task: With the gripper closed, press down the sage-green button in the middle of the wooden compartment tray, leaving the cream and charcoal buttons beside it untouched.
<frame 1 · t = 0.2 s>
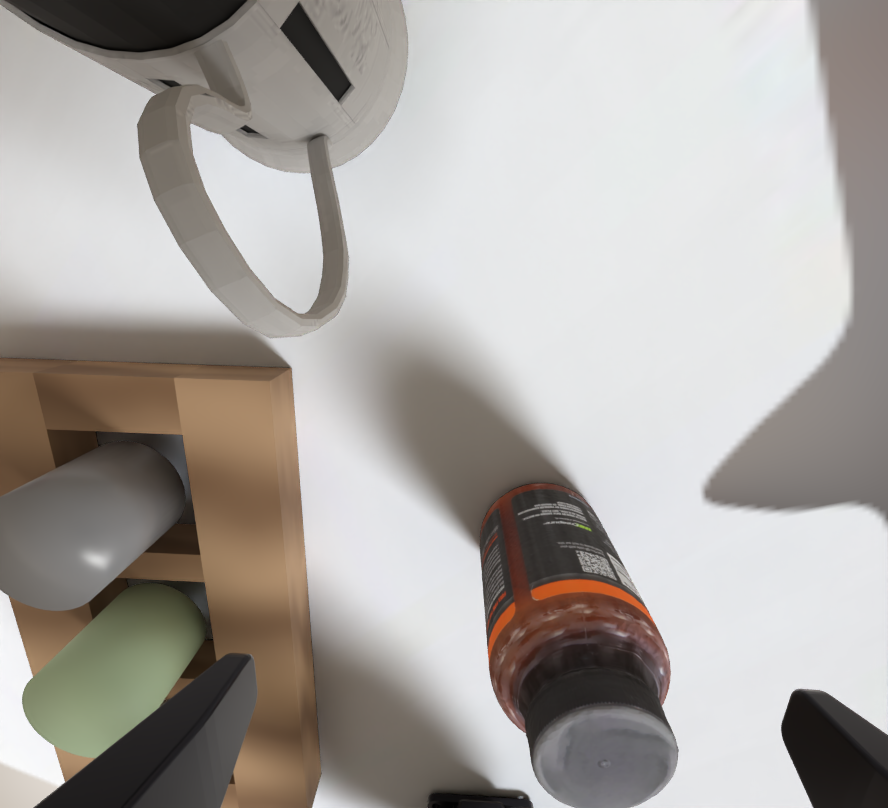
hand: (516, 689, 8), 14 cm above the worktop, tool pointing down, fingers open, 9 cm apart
supplement bottle: (537, 529, 23), on the worktop
charcoal button: (92, 518, 19), point 5 cm above the worktop, slide at 2.0 cm
cream button: (151, 780, 23), point 4 cm above the worktop, slide at 2.0 cm
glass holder: (324, 123, 19), on the worktop
green button: (124, 663, 21), point 5 cm above the worktop, slide at 2.0 cm
wooden compartment tray: (182, 595, 25), on the worktop
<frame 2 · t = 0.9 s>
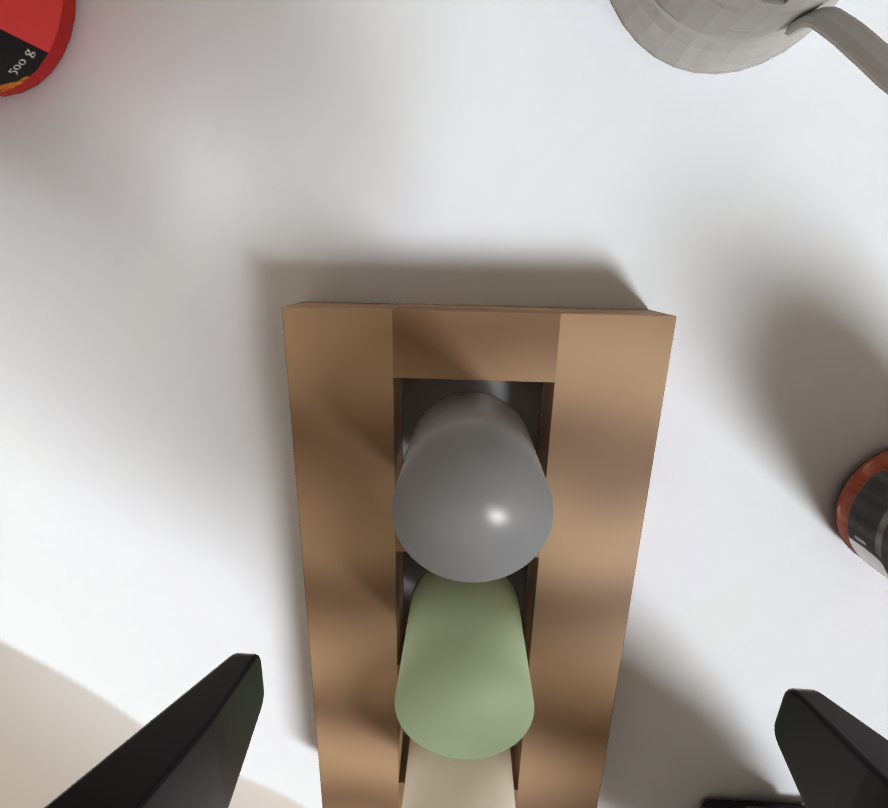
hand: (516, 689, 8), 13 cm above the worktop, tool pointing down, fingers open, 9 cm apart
charcoal button: (471, 477, 16), point 5 cm above the worktop, slide at 2.0 cm
cream button: (458, 786, 20), point 4 cm above the worktop, slide at 2.0 cm
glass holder: (749, 13, 16), on the worktop
green button: (464, 650, 18), point 5 cm above the worktop, slide at 2.0 cm
wooden compartment tray: (464, 576, 23), on the worktop
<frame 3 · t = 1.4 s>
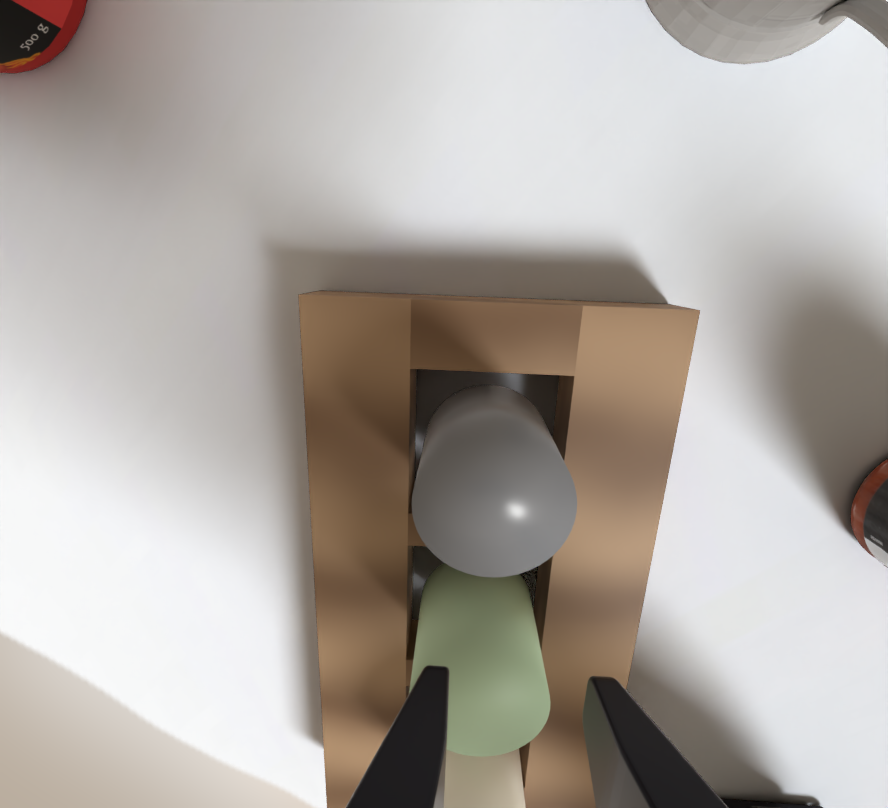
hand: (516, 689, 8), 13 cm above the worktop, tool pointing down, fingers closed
charcoal button: (489, 470, 16), point 4 cm above the worktop, slide at 2.0 cm
cream button: (467, 783, 20), point 4 cm above the worktop, slide at 2.0 cm
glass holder: (779, 2, 16), on the worktop
green button: (477, 646, 18), point 4 cm above the worktop, slide at 2.0 cm
wooden compartment tray: (474, 572, 22), on the worktop
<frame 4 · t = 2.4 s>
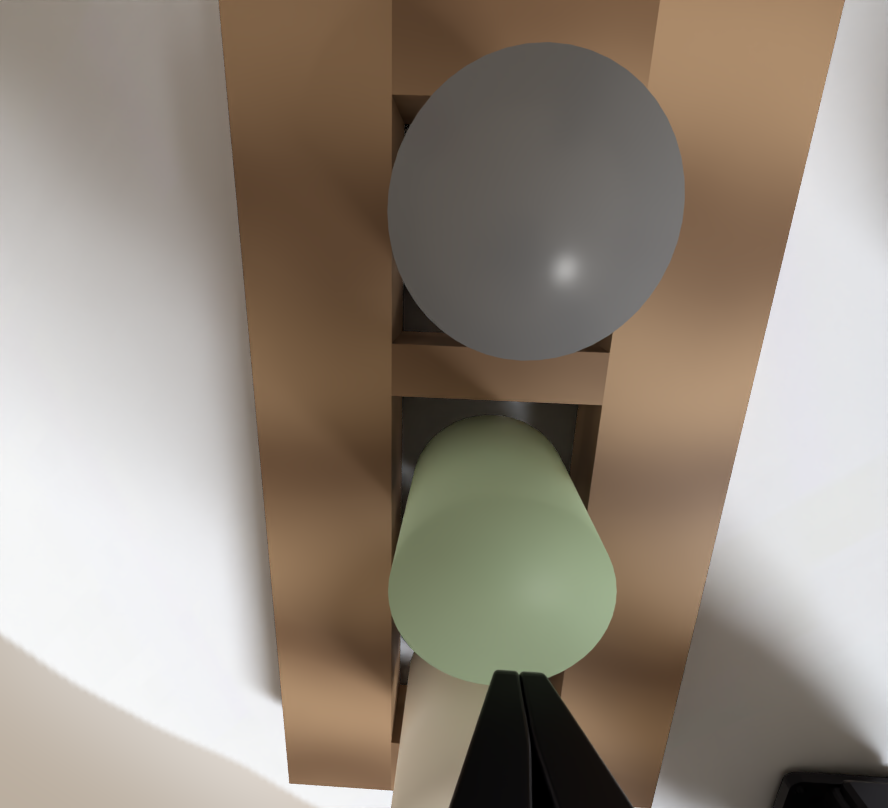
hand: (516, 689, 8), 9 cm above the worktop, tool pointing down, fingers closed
charcoal button: (516, 227, 10), point 4 cm above the worktop, slide at 2.0 cm
cream button: (477, 742, 14), point 4 cm above the worktop, slide at 2.0 cm
green button: (493, 531, 12), point 4 cm above the worktop, slide at 2.0 cm
wooden compartment tray: (485, 461, 16), on the worktop
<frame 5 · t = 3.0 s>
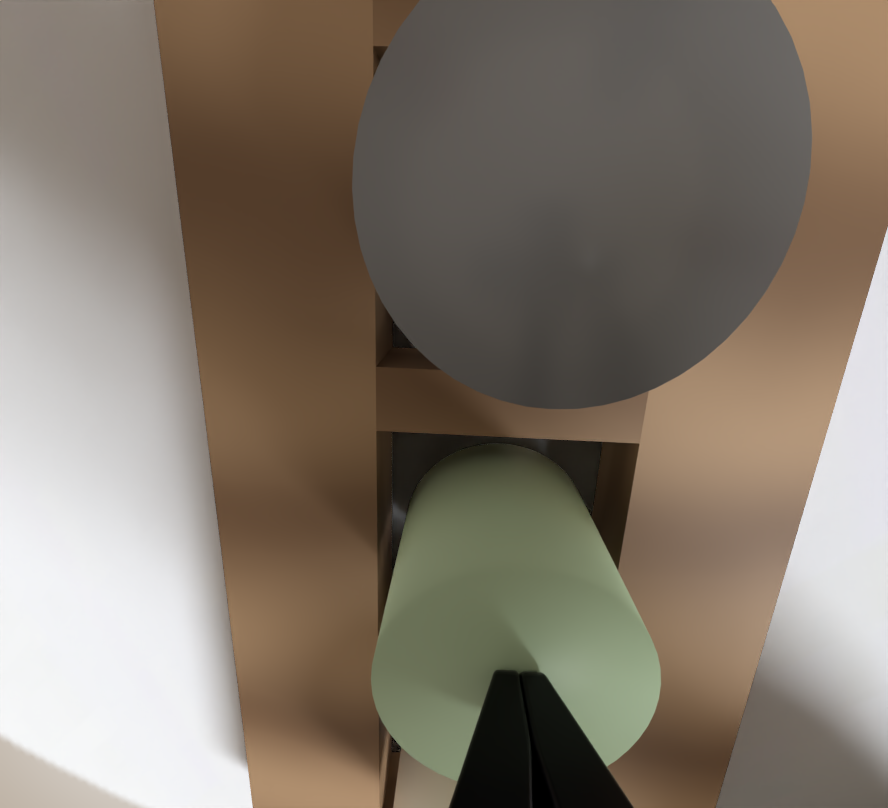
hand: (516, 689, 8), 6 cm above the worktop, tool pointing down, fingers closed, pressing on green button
charcoal button: (539, 217, 7), point 4 cm above the worktop, slide at 2.0 cm
green button: (502, 588, 10), point 4 cm above the worktop, slide at 1.4 cm, touching gripper
wooden compartment tray: (492, 500, 14), on the worktop
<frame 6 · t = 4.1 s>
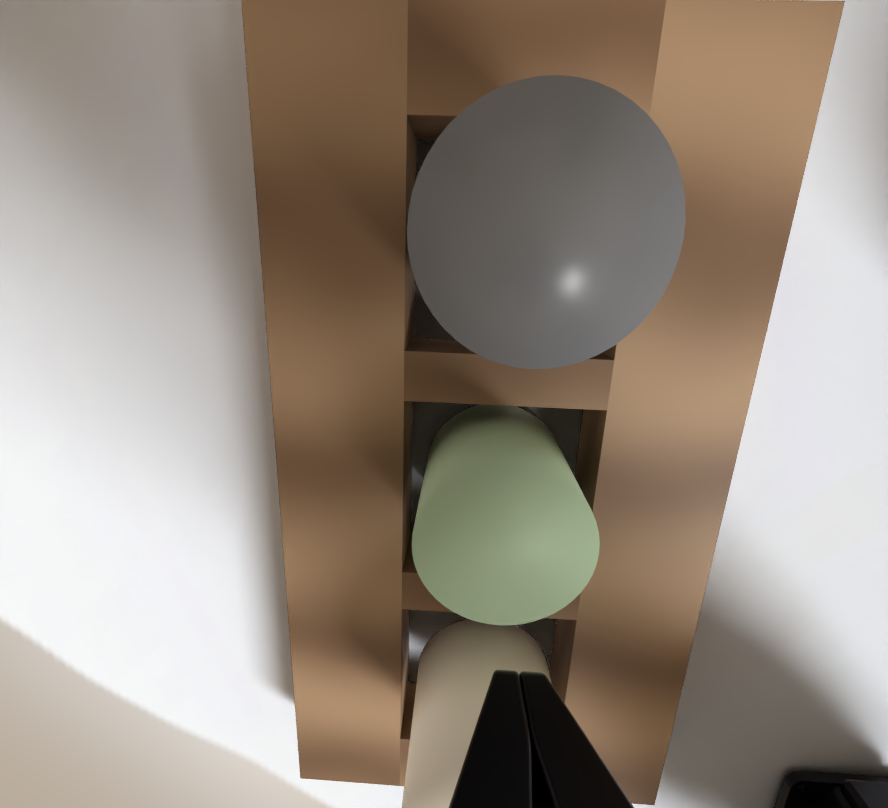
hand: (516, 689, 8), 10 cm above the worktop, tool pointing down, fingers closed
charcoal button: (526, 241, 10), point 4 cm above the worktop, slide at 2.0 cm
cream button: (485, 736, 15), point 4 cm above the worktop, slide at 2.0 cm
green button: (498, 501, 14), point 3 cm above the worktop, slide at 0.3 cm
wooden compartment tray: (493, 463, 17), on the worktop
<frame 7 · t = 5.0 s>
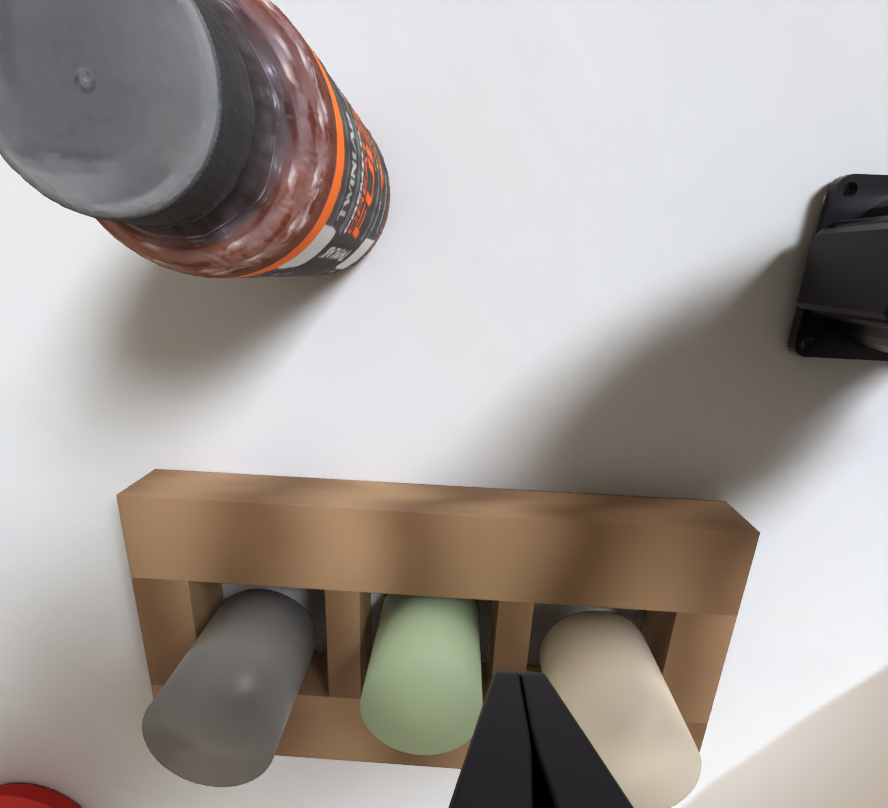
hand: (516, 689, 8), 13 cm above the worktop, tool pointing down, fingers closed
supplement bottle: (318, 194, 18), on the worktop
charcoal button: (240, 679, 19), point 4 cm above the worktop, slide at 2.0 cm
cream button: (609, 704, 19), point 4 cm above the worktop, slide at 2.0 cm
green button: (426, 657, 20), point 3 cm above the worktop, slide at 0.3 cm
wooden compartment tray: (430, 611, 23), on the worktop
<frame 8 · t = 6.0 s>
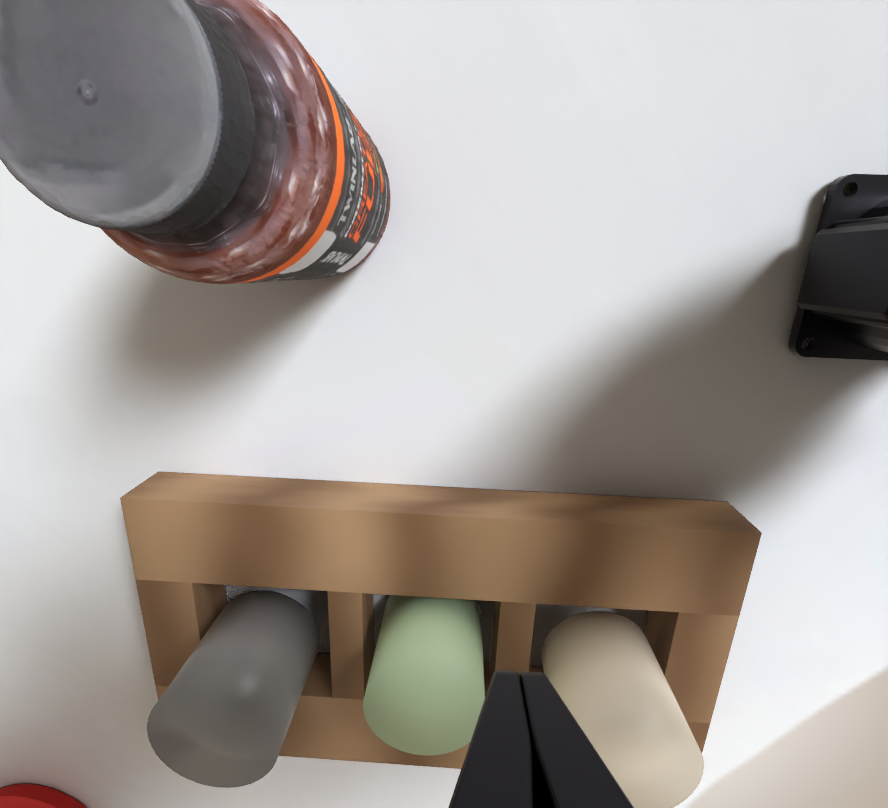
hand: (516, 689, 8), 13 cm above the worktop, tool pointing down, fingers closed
supplement bottle: (319, 197, 18), on the worktop
charcoal button: (244, 680, 19), point 5 cm above the worktop, slide at 2.0 cm
cream button: (611, 704, 19), point 5 cm above the worktop, slide at 2.0 cm
green button: (428, 658, 21), point 3 cm above the worktop, slide at 0.3 cm
wooden compartment tray: (433, 612, 23), on the worktop
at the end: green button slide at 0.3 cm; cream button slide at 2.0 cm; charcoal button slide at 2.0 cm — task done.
